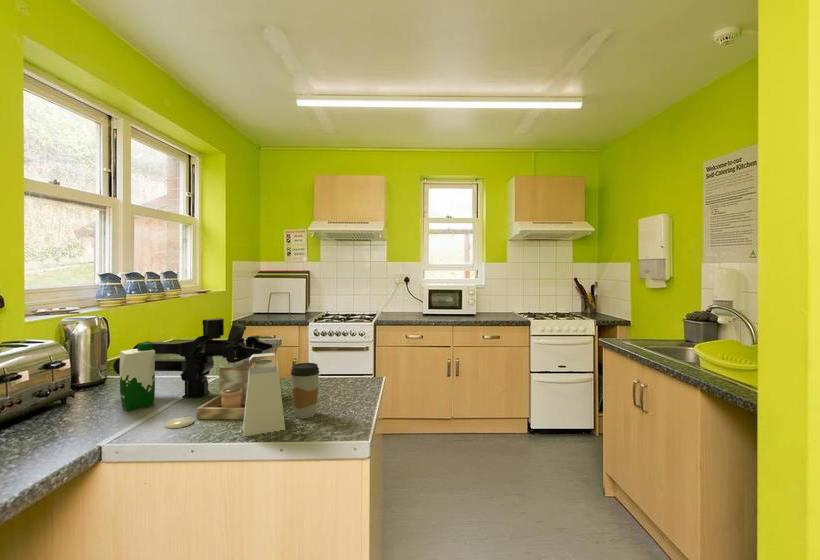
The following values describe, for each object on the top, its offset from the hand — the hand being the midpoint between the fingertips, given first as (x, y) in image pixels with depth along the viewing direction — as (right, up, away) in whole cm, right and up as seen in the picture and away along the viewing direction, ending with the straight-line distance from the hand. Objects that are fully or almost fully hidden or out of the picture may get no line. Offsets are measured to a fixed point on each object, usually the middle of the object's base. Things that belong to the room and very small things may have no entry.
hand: (267, 348), depth 137 cm
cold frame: (-5, -17, -15) cm, 23 cm away
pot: (-5, -17, -17) cm, 24 cm away
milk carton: (-38, -17, -11) cm, 43 cm away
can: (-1, -17, 0) cm, 17 cm away
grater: (+9, -17, -27) cm, 33 cm away
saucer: (-16, -17, -25) cm, 34 cm away
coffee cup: (+18, -17, -18) cm, 31 cm away
